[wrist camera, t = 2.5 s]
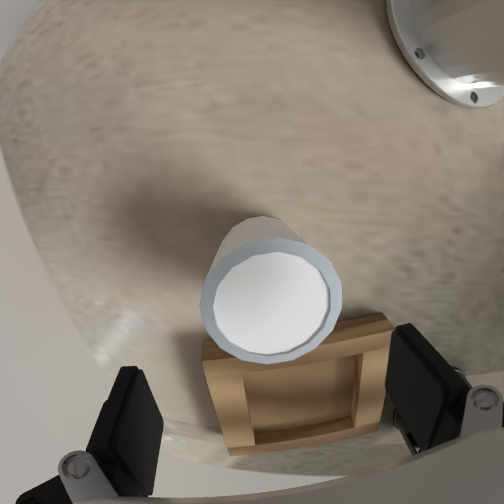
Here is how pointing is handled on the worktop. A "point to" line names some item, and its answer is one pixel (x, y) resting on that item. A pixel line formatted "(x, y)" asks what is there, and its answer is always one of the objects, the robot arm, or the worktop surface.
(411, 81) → the worktop surface
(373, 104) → the worktop surface
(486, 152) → the worktop surface
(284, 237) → the white tapered cylinder
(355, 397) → the tray
